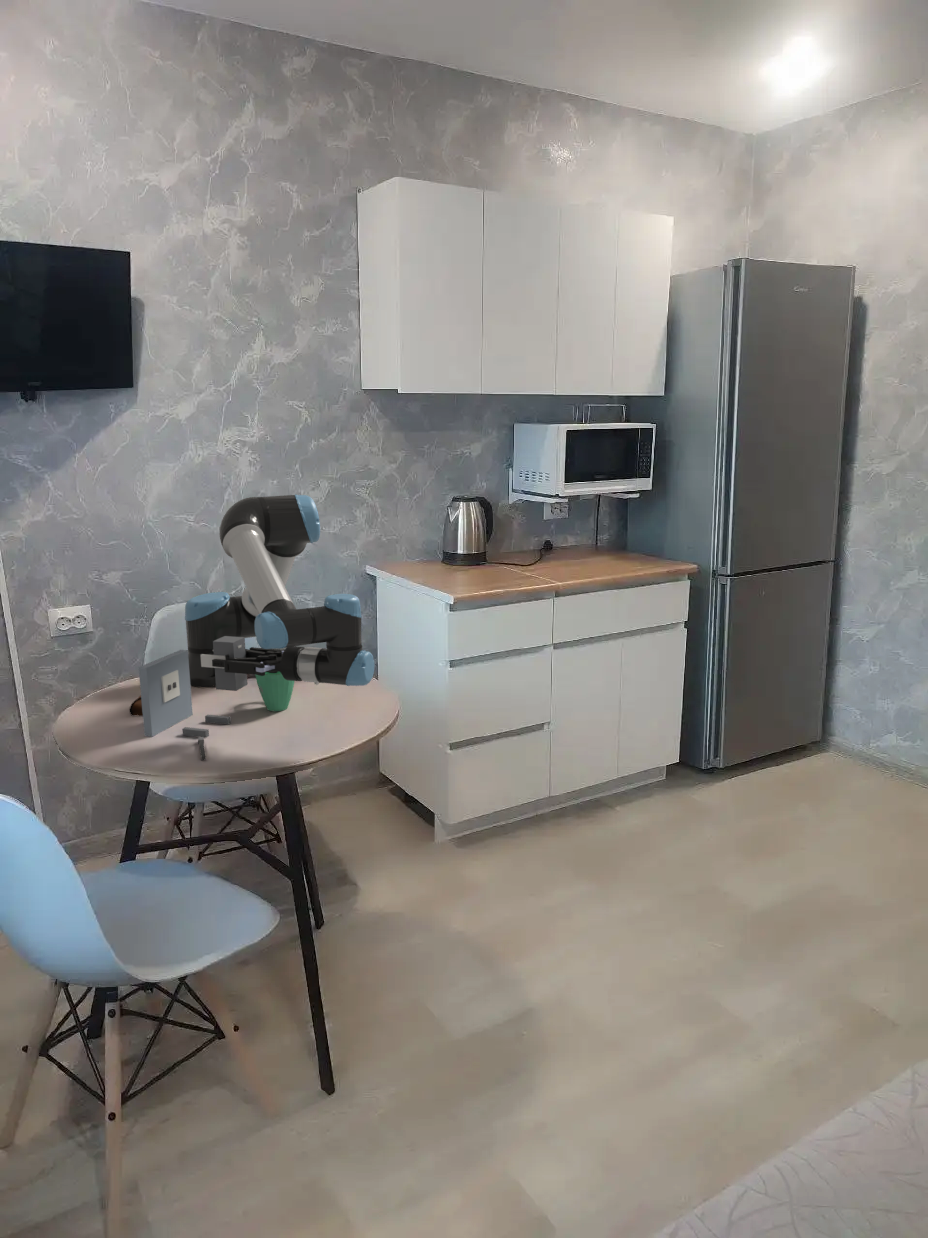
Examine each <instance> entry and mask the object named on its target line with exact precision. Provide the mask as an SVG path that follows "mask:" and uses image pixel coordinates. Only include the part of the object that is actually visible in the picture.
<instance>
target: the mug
mask: <svg viewBox="0 0 928 1238" xmlns="http://www.w3.org/2000/svg"><path fill="white" fill-rule="evenodd" d="M254 676H255V680H256V685H257V687H258V691H259V693H260V697H261V698H262V701H263V703H264V705H265V707H266V709H267V710H268V711H270V712H282V711H285V710H287V709H288V708H289V704H290V701H291V698H292V695H293V691H294V686H295V681H289V680H286V679H284V677H283V676H282V674H281V673H280V672H279V671H278V672H277V673H269V672H265V675H264V676H259V675H255V674H254Z"/></svg>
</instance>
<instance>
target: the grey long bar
mask: <svg viewBox="0 0 928 1238" xmlns="http://www.w3.org/2000/svg"><path fill="white" fill-rule="evenodd" d="M204 738H205V737H197V743H198V745H199V753H200V761H206V760H207V758H206V757H207V756H206V750H205V739H204Z"/></svg>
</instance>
